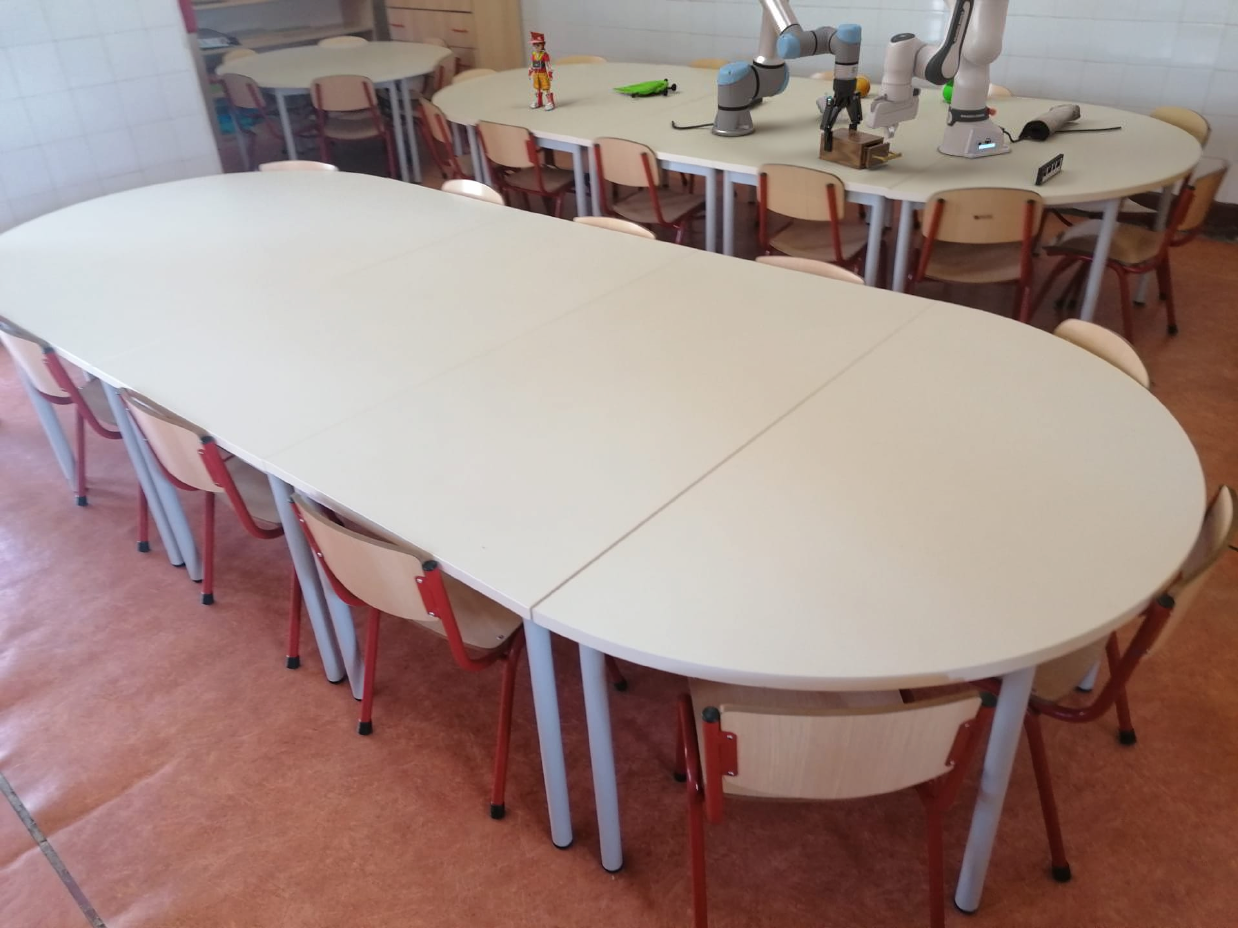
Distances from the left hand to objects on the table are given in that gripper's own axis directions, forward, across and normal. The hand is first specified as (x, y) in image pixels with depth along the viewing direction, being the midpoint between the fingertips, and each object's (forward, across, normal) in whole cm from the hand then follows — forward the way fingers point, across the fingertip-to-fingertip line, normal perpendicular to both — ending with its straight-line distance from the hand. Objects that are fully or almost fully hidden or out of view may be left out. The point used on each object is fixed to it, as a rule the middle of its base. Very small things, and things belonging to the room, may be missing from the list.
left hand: (839, 147), depth 302 cm
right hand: (-7, 0, -20) cm, 22 cm away
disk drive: (+3, +26, +76) cm, 81 cm away
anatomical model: (+3, +34, +36) cm, 50 cm away
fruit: (+3, +67, +52) cm, 85 cm away
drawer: (+2, 0, -12) cm, 12 cm away
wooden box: (+3, 0, -5) cm, 6 cm away
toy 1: (+3, -34, +138) cm, 142 cm away
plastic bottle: (+3, +85, +19) cm, 87 cm away
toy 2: (+3, +12, +129) cm, 129 cm away
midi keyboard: (+3, +28, -60) cm, 66 cm away
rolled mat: (+3, +74, -30) cm, 80 cm away
